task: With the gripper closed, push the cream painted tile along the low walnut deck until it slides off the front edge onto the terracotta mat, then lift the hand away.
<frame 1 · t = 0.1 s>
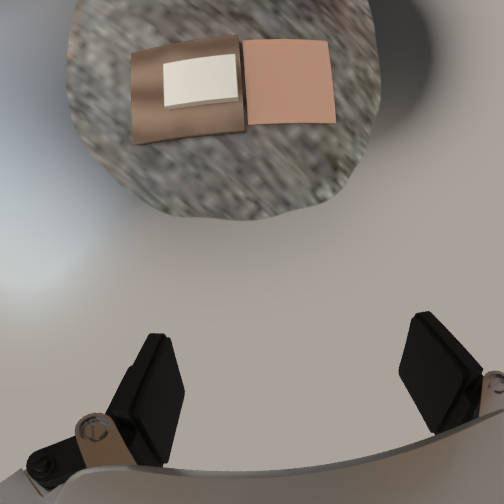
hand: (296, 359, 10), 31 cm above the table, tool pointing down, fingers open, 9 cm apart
mat: (289, 79, 34), on the table
deck: (187, 90, 34), on the table
tile: (202, 83, 32), point 2 cm above the table, touching deck
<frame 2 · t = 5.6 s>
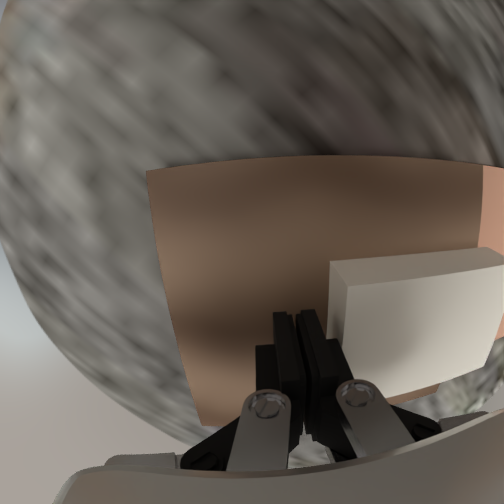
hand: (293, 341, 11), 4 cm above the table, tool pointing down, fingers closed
deck: (329, 295, 14), on the table
tile: (414, 312, 12), point 3 cm above the table, touching gripper
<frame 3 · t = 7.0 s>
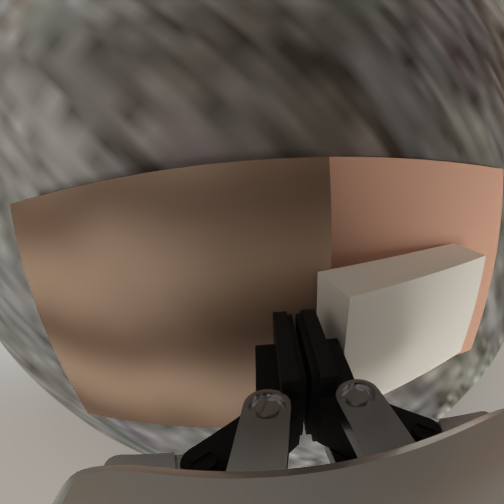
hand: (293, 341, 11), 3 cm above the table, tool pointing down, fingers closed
mat: (424, 277, 14), on the table
deck: (173, 307, 15), on the table
tile: (393, 311, 13), point 2 cm above the table, tilted 15°, touching gripper, mat
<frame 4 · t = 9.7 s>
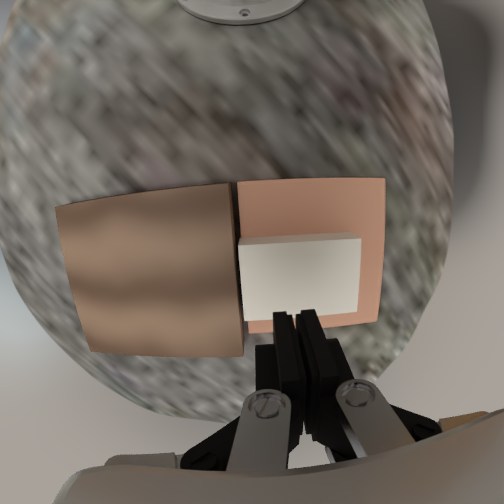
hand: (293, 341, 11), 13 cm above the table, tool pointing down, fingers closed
mat: (316, 257, 23), on the table
deck: (151, 273, 24), on the table
tile: (297, 270, 23), resting on mat
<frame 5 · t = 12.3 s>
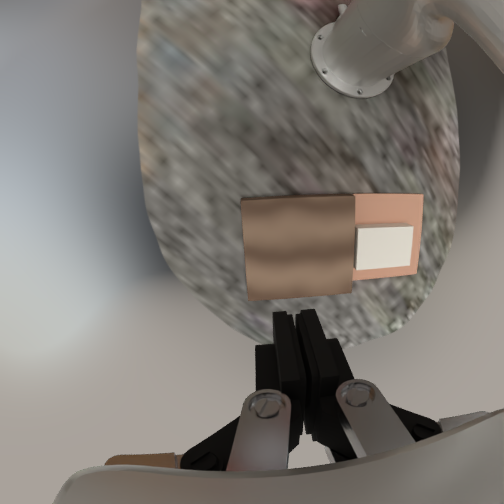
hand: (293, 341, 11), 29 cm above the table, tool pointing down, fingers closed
mat: (388, 236, 40), on the table
deck: (298, 244, 40), on the table
tile: (379, 243, 40), resting on mat
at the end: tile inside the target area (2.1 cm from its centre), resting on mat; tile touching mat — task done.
